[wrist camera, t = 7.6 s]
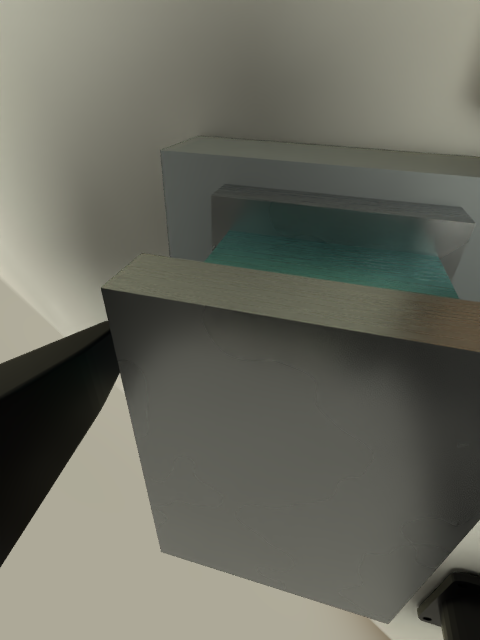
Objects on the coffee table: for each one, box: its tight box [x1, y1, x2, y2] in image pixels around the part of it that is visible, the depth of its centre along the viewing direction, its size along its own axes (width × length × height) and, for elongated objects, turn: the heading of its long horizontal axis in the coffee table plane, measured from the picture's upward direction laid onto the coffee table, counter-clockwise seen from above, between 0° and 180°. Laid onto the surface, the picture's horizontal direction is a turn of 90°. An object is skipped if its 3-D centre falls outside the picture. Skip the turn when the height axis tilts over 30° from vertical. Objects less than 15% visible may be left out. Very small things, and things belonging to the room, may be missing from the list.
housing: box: [101, 184, 480, 624], centre depth 8 cm, size 5×7×5 cm
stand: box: [160, 136, 480, 302], centre depth 10 cm, size 8×8×2 cm
